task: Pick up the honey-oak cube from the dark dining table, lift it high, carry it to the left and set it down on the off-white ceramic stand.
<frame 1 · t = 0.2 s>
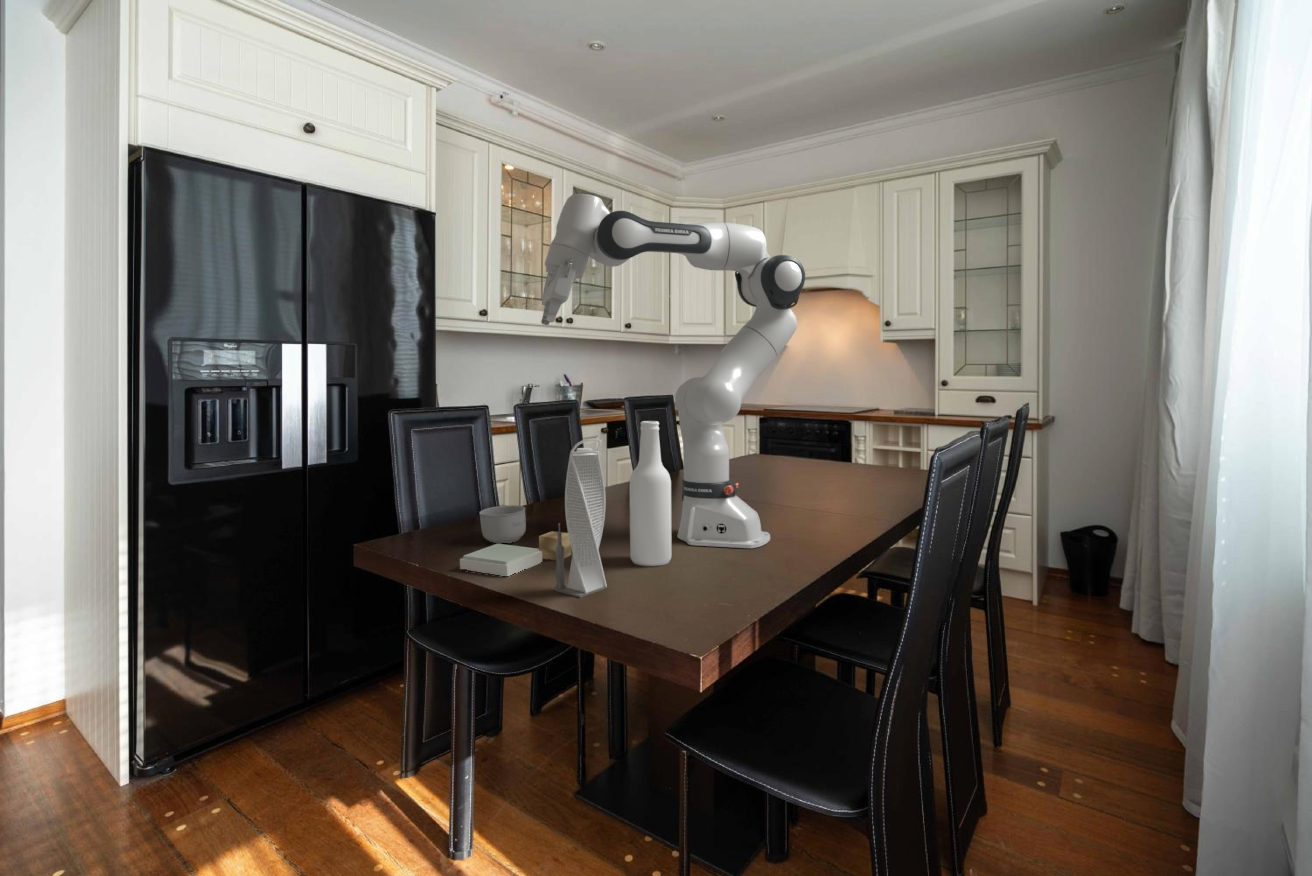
hand: (547, 323, 153), 51 cm above the table, tool tilted 20°, fingers open, 8 cm apart
stand: (502, 566, 144), on the table
oak cube: (555, 557, 151), on the table
alcohol: (651, 562, 146), on the table
teacup: (504, 540, 167), on the table
skyscraper: (585, 590, 128), on the table
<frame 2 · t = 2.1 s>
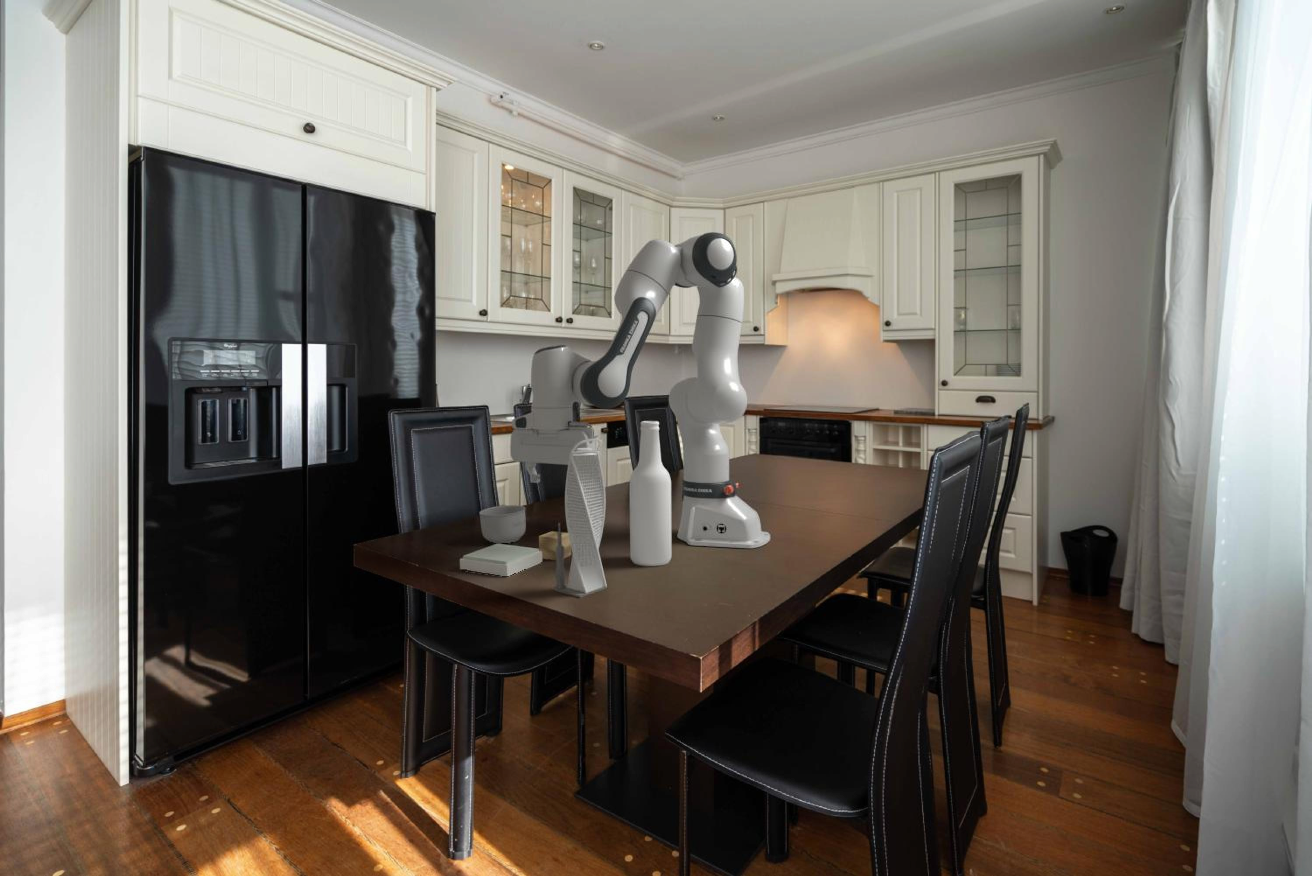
hand: (553, 484, 149), 16 cm above the table, tool pointing down, fingers open, 8 cm apart
nothing on the table moved.
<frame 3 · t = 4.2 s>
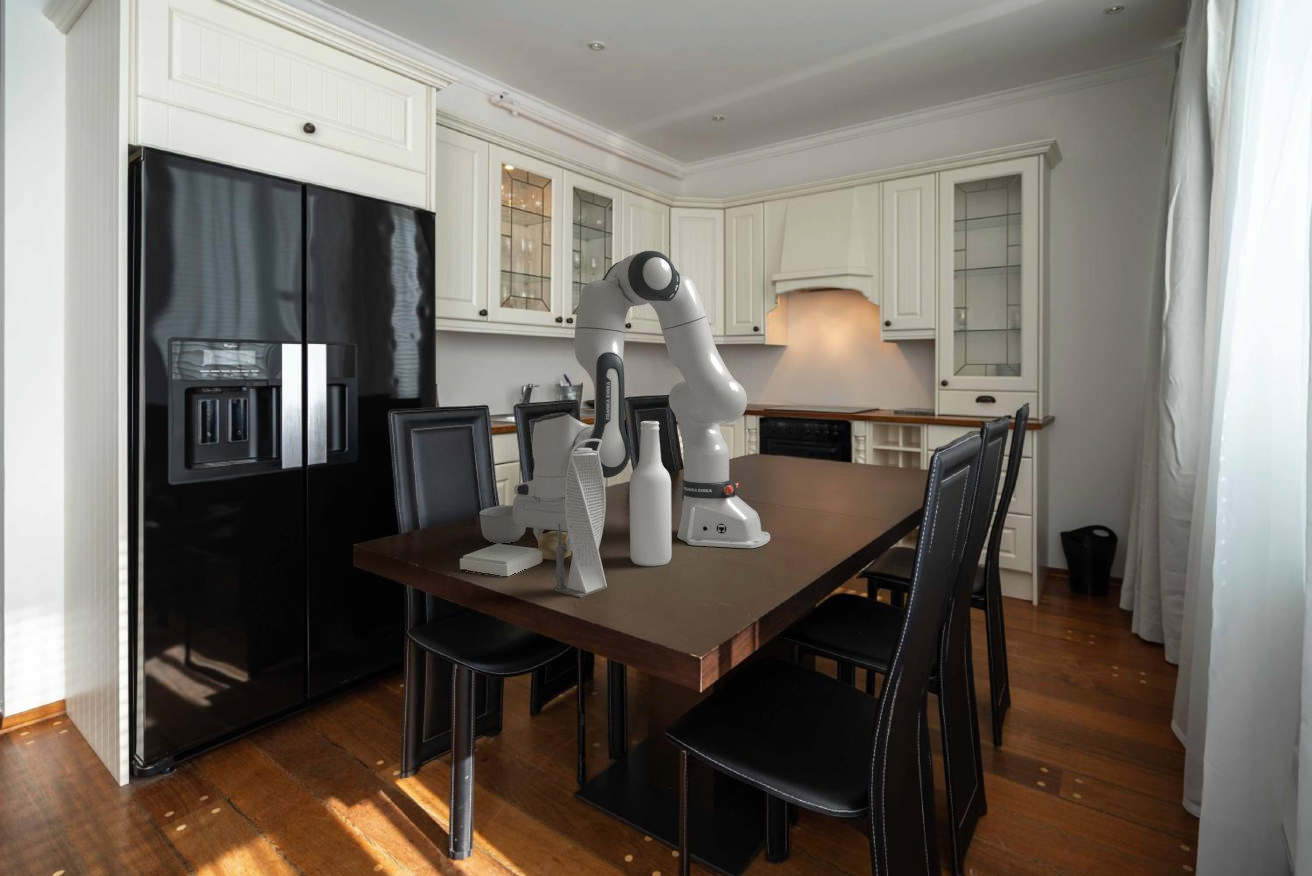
hand: (555, 549, 151), 2 cm above the table, tool pointing down, fingers closed on oak cube, 5 cm apart
oak cube: (555, 556, 151), on the table, touching gripper
everything else where it was.
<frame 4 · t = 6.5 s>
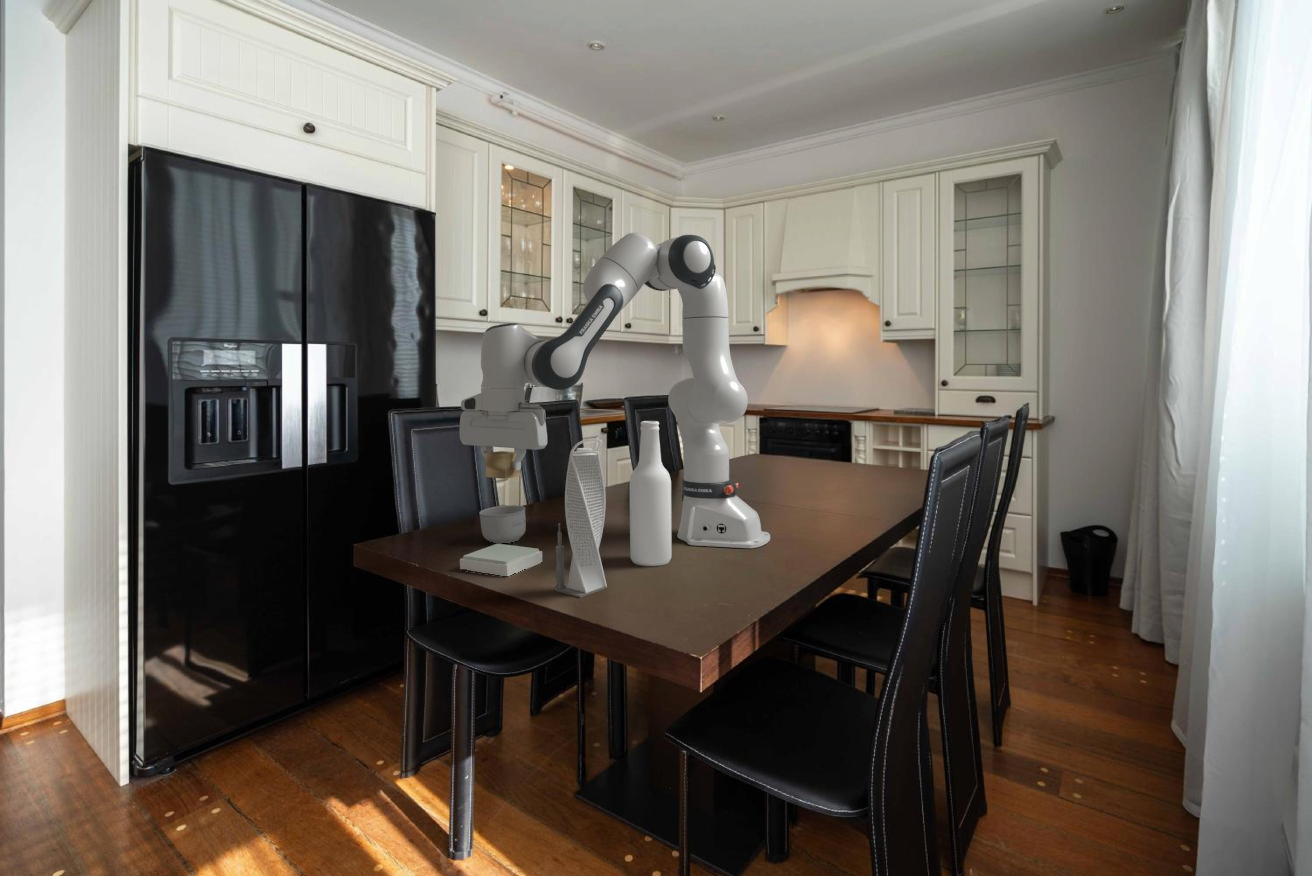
hand: (502, 468, 142), 21 cm above the table, tool pointing down, fingers closed on oak cube, 5 cm apart
oak cube: (502, 476, 142), point 19 cm above the table, touching gripper
everything else where it was.
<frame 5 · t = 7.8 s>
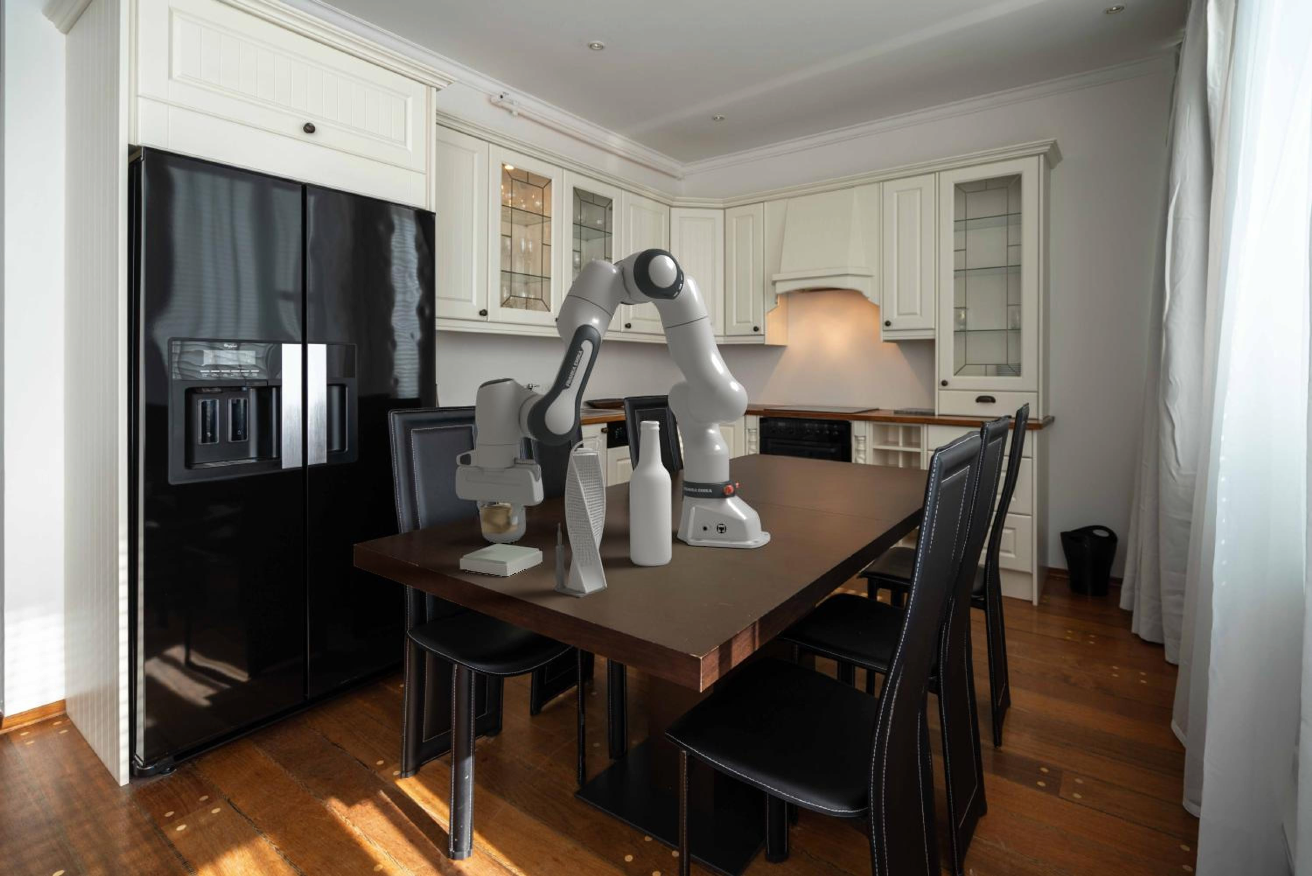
hand: (499, 523, 143), 9 cm above the table, tool pointing down, fingers closed on oak cube, 5 cm apart
oak cube: (499, 530, 143), point 8 cm above the table, touching gripper
everything else where it was.
when the fingers open (6 cm above the table, at t = 9.0 s): oak cube drops 1 cm, resting on stand.
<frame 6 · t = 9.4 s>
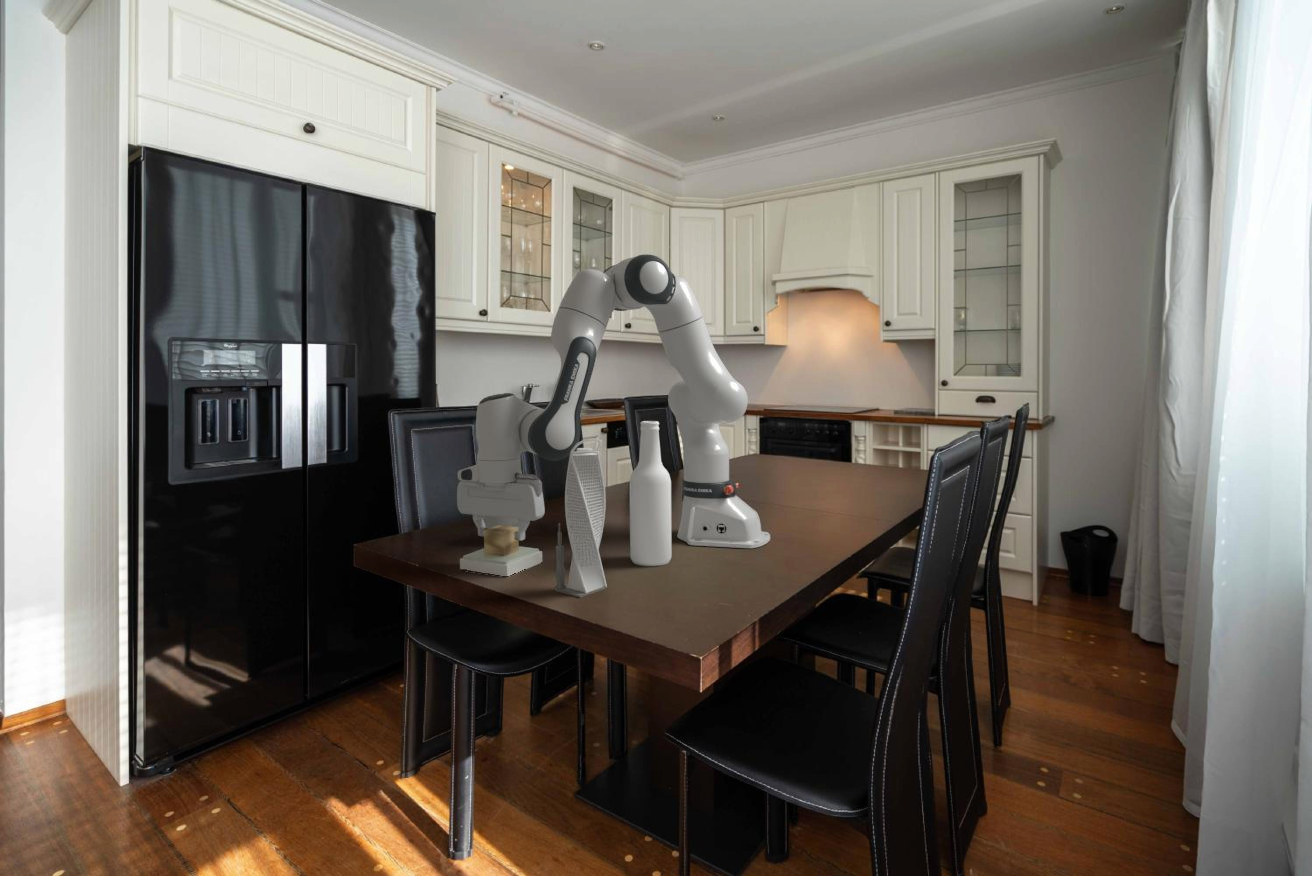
hand: (501, 537, 143), 6 cm above the table, tool pointing down, fingers open, 8 cm apart
oak cube: (501, 552, 143), point 3 cm above the table, touching stand
everything else where it was.
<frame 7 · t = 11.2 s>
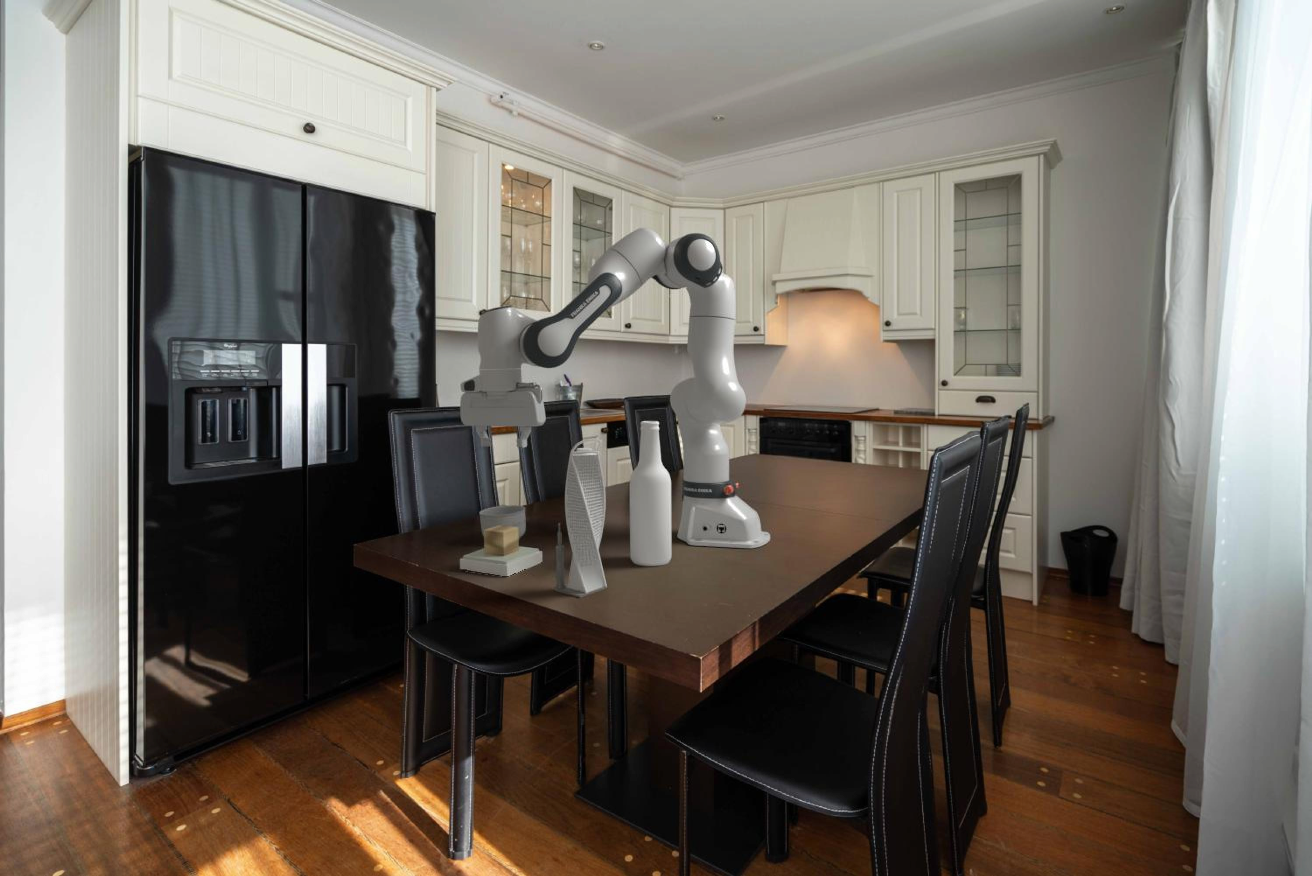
hand: (504, 446, 149), 24 cm above the table, tool pointing down, fingers open, 8 cm apart
nothing on the table moved.
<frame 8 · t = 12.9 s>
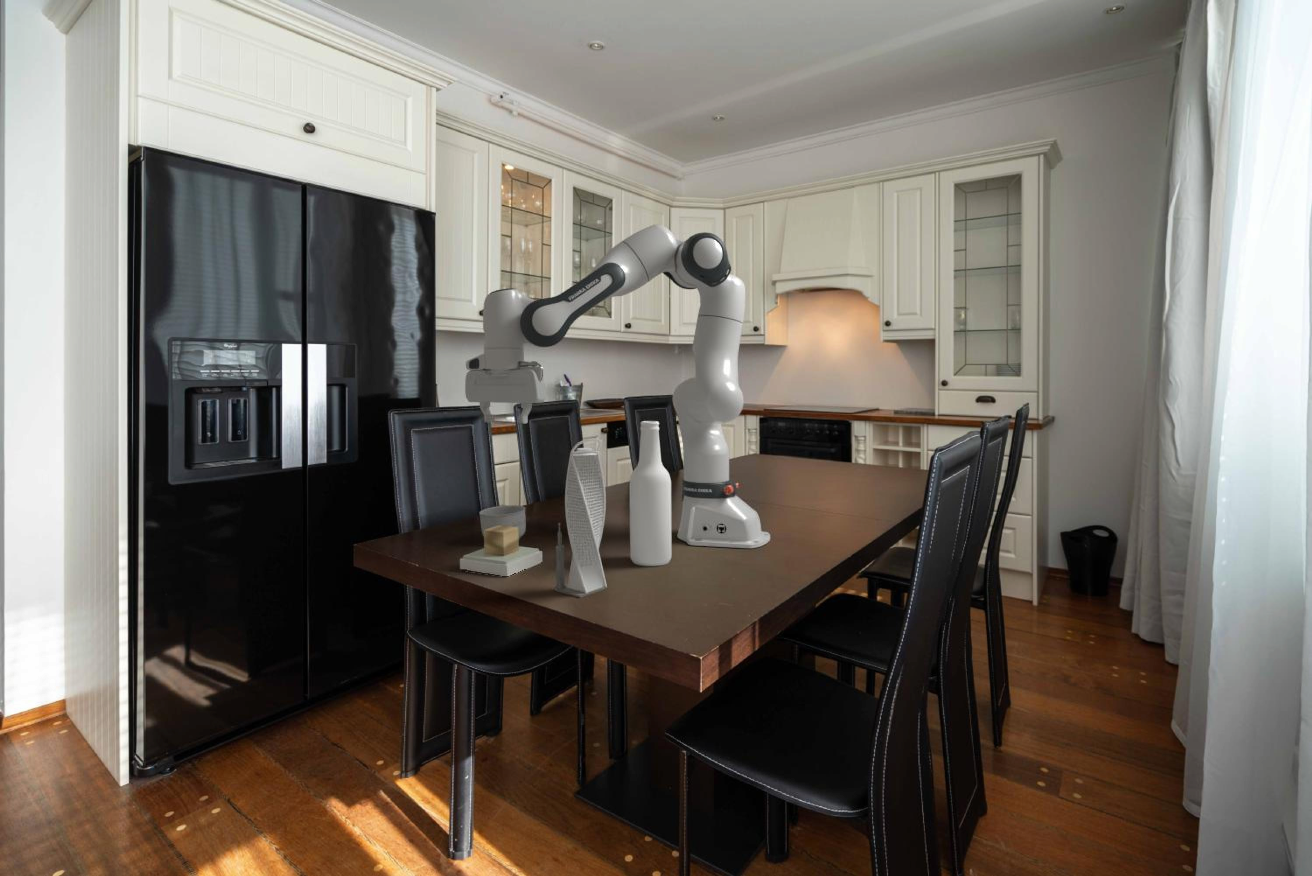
hand: (505, 422, 156), 29 cm above the table, tool pointing down, fingers open, 8 cm apart
nothing on the table moved.
at the end: oak cube inside the target area on the stand (0.0 cm from its centre), point 3.0 cm above the stand's base; oak cube tilted 0°; the gripper is holding nothing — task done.
